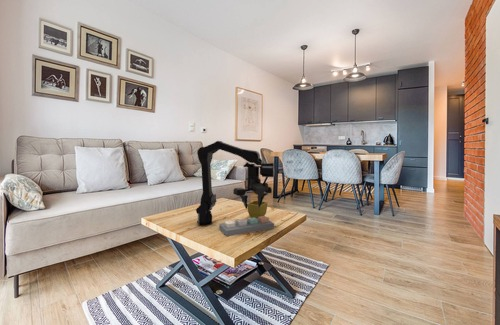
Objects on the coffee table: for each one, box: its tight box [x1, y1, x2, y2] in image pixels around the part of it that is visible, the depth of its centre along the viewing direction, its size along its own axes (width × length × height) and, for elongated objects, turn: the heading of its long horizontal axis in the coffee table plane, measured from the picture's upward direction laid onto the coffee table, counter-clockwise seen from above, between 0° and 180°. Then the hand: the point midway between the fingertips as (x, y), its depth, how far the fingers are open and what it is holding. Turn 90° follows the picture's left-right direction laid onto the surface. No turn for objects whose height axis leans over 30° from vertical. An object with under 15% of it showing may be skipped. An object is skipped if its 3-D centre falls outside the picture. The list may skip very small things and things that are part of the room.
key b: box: [235, 218, 247, 227], centre depth 110 cm, size 4×4×3 cm
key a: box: [223, 220, 236, 228], centre depth 107 cm, size 4×4×3 cm
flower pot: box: [247, 200, 268, 219], centre depth 127 cm, size 9×9×9 cm
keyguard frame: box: [218, 219, 275, 237], centre depth 111 cm, size 25×10×2 cm, turn 116°
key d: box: [258, 215, 270, 223], centre depth 115 cm, size 4×4×3 cm
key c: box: [246, 217, 258, 225], centre depth 112 cm, size 4×4×3 cm
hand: (252, 207), depth 112 cm, fingers open, 7 cm apart
